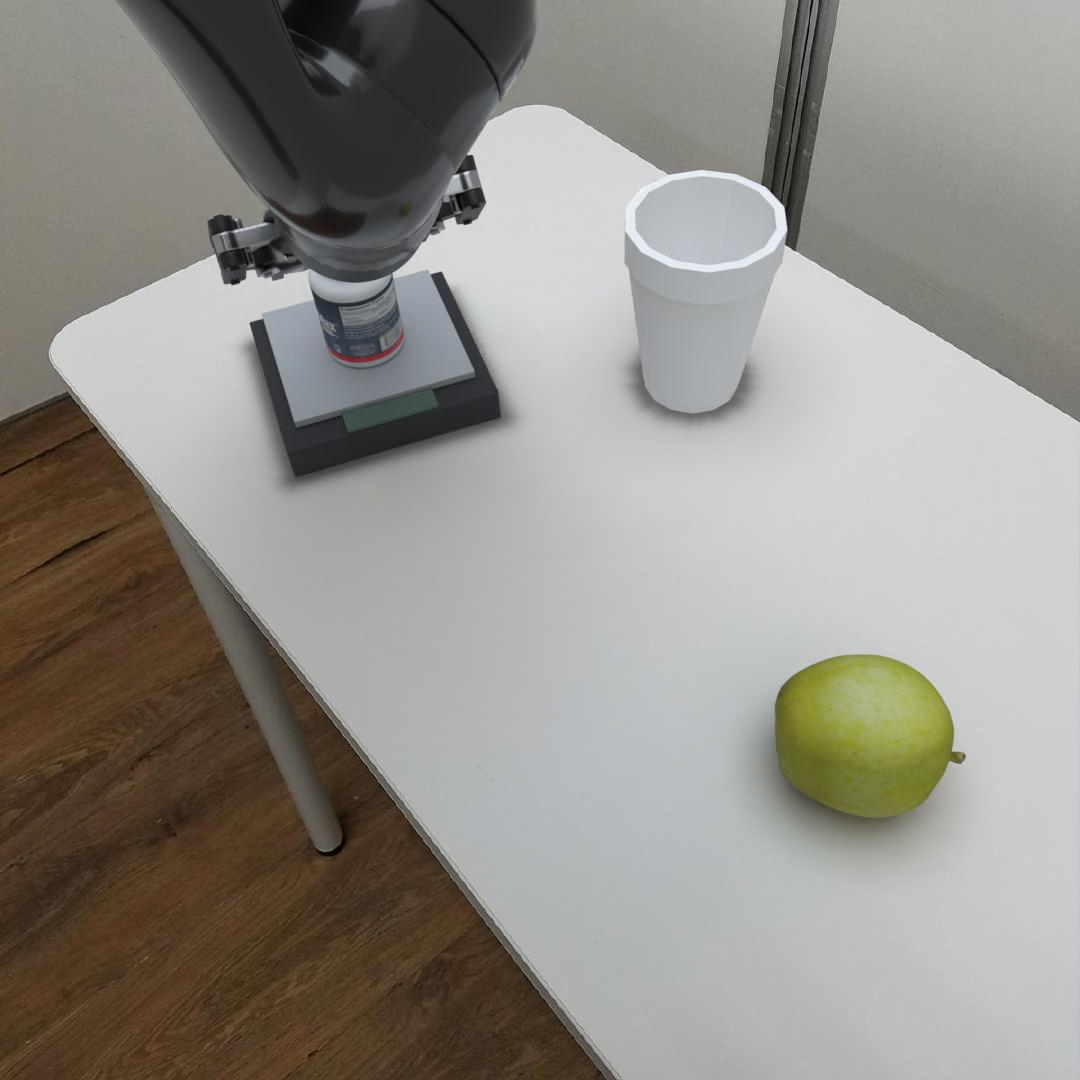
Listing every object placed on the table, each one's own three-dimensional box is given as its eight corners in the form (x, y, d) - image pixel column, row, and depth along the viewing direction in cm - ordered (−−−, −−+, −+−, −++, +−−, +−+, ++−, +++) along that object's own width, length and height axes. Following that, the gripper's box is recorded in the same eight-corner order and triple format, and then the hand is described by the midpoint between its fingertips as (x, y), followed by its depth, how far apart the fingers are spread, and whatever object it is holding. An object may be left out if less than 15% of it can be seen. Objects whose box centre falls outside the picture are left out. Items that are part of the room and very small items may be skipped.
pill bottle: (320, 326, 75) (290, 217, 68) (394, 307, 76) (373, 198, 68) (336, 378, 72) (306, 270, 65) (413, 358, 72) (393, 249, 65)
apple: (950, 852, 54) (996, 783, 48) (762, 833, 55) (783, 763, 49) (936, 711, 59) (976, 631, 52) (763, 696, 60) (782, 616, 53)
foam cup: (606, 416, 73) (606, 258, 62) (636, 323, 78) (642, 162, 67) (750, 441, 71) (775, 282, 60) (771, 343, 76) (798, 181, 66)
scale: (295, 477, 71) (284, 446, 68) (257, 347, 78) (246, 315, 76) (501, 417, 73) (498, 385, 71) (445, 296, 81) (440, 263, 78)
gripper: (484, 63, 50) (441, 151, 65) (168, 137, 47) (203, 209, 63) (529, 229, 51) (476, 276, 66) (223, 309, 48) (244, 338, 64)
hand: (343, 243), depth 65 cm, fingers open, 8 cm apart
